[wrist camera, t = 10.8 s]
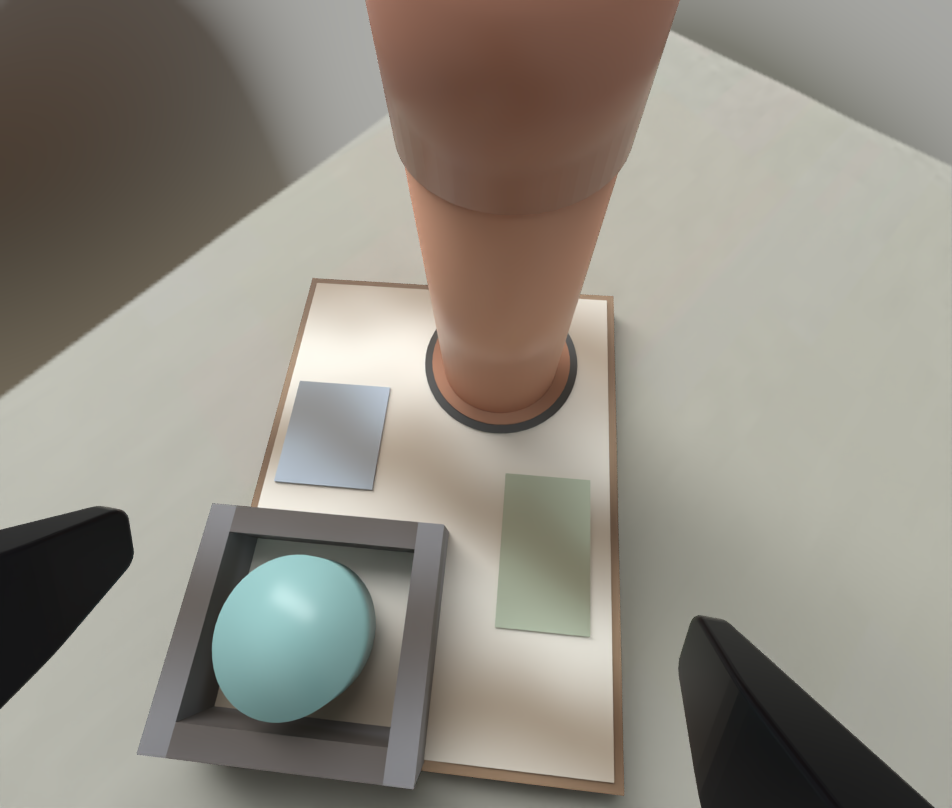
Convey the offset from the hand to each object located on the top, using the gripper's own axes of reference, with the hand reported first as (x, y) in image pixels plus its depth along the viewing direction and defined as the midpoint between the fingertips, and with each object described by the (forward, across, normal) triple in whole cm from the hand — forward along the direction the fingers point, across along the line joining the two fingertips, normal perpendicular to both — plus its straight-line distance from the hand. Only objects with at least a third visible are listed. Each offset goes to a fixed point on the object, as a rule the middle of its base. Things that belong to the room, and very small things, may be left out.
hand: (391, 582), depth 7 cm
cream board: (+10, +1, +4) cm, 11 cm away
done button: (+4, +4, +6) cm, 8 cm away
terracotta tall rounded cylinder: (+12, 0, -1) cm, 12 cm away
